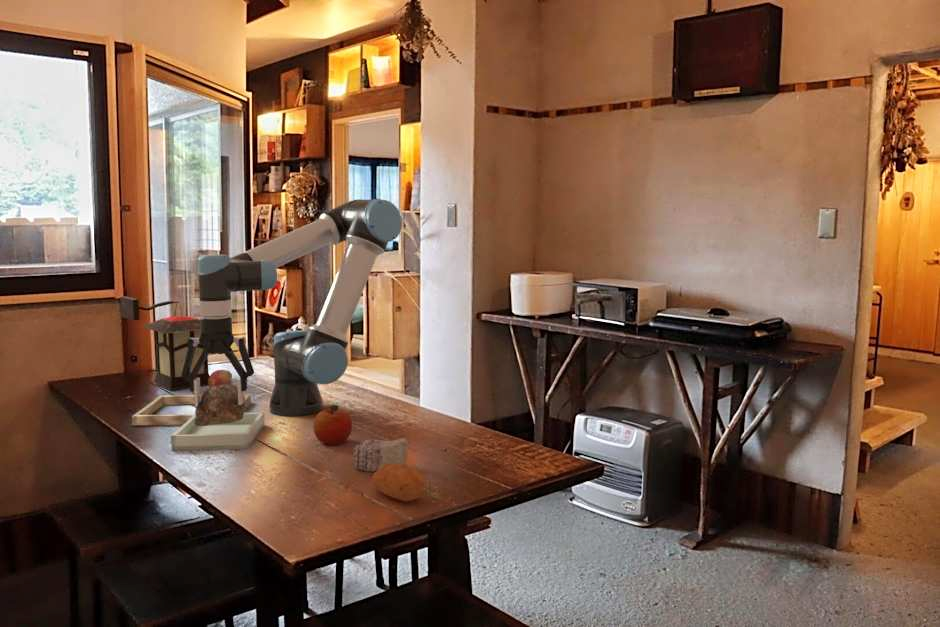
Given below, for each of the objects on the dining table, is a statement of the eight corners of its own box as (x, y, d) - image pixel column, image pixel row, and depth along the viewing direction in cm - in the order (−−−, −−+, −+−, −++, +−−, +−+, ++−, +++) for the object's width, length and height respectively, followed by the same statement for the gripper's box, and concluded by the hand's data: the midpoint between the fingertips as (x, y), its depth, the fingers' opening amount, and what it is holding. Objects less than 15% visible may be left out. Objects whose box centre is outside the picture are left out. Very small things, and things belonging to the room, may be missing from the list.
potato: (402, 511, 151) (402, 476, 150) (365, 493, 161) (365, 459, 160) (432, 502, 156) (432, 468, 155) (394, 485, 166) (394, 452, 165)
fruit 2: (347, 435, 202) (347, 397, 201) (356, 445, 193) (355, 406, 192) (310, 439, 198) (309, 400, 197) (317, 449, 190) (316, 409, 188)
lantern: (121, 387, 254) (115, 295, 250) (198, 376, 272) (194, 290, 268) (141, 397, 241) (136, 300, 237) (222, 385, 258) (218, 294, 254)
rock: (188, 423, 199) (200, 432, 191) (184, 390, 198) (195, 398, 190) (244, 410, 207) (257, 418, 199) (240, 378, 206) (253, 385, 198)
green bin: (264, 425, 211) (264, 412, 210) (247, 449, 190) (247, 434, 190) (196, 426, 210) (195, 413, 209) (171, 450, 189) (170, 436, 188)
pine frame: (250, 402, 235) (250, 394, 235) (232, 423, 212) (232, 414, 212) (160, 403, 233) (160, 395, 233) (132, 425, 210) (131, 416, 210)
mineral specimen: (400, 458, 184) (400, 432, 183) (411, 467, 177) (410, 441, 176) (347, 465, 179) (347, 438, 178) (356, 475, 172) (356, 447, 171)
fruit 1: (227, 398, 240) (226, 373, 239) (203, 397, 241) (202, 372, 240) (238, 392, 248) (237, 367, 247) (215, 391, 249) (214, 367, 248)
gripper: (264, 314, 200) (267, 399, 203) (174, 315, 199) (178, 400, 202) (258, 318, 193) (261, 406, 196) (164, 319, 191) (169, 408, 194)
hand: (219, 403), depth 199 cm, fingers closed on rock, 10 cm apart
